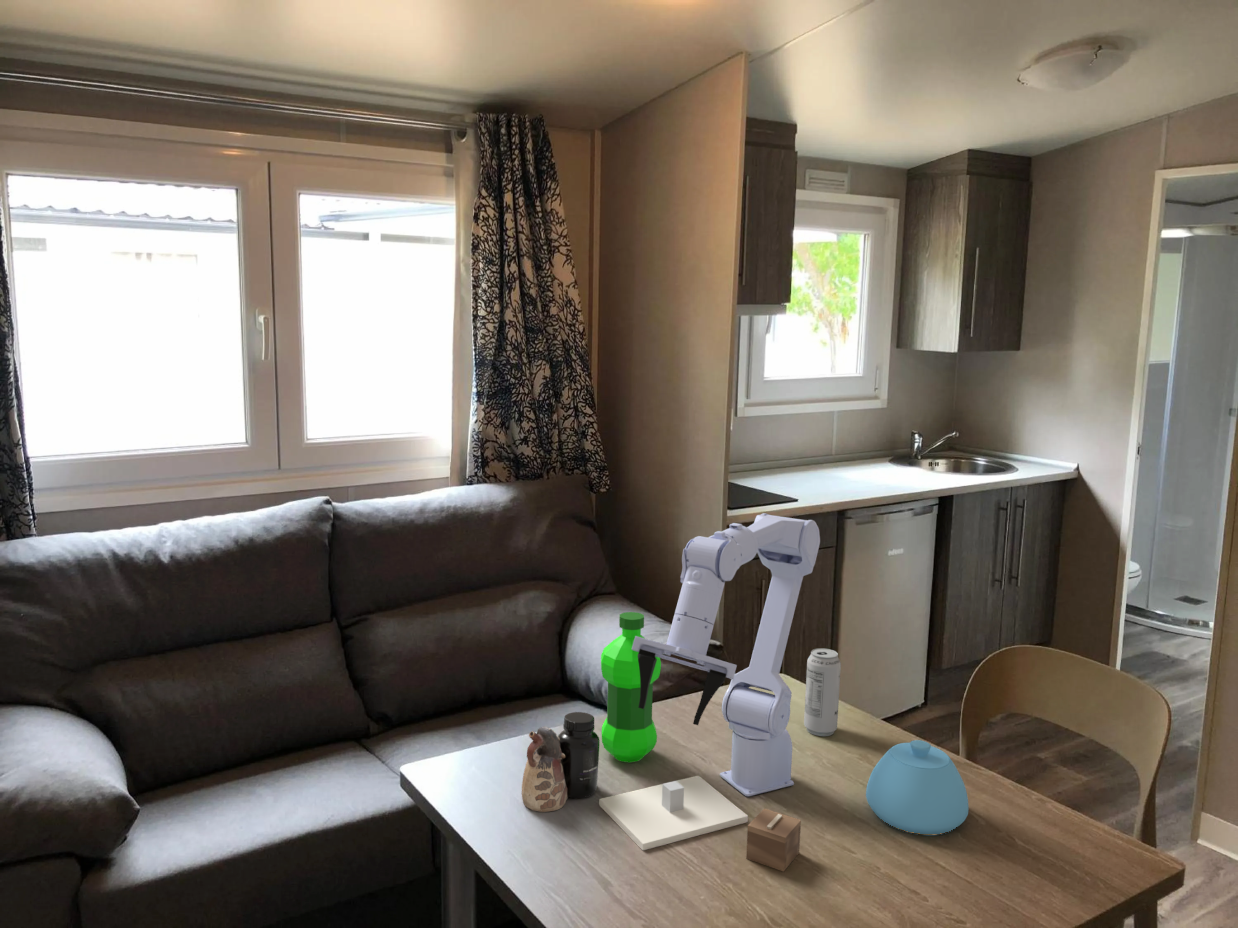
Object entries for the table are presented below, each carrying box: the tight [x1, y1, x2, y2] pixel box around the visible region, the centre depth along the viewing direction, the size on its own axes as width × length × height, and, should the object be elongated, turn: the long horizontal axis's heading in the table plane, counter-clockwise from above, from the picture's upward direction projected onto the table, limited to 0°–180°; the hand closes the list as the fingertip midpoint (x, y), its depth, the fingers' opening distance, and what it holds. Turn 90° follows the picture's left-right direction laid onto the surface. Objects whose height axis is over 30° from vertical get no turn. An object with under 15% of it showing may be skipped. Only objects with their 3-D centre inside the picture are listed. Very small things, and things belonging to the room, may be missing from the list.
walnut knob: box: [745, 808, 802, 872], centre depth 131 cm, size 6×6×5 cm
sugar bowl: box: [865, 739, 970, 834], centre depth 143 cm, size 15×15×12 cm
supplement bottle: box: [557, 711, 600, 799], centre depth 149 cm, size 7×7×12 cm
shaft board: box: [598, 775, 749, 851], centre depth 142 cm, size 18×14×4 cm
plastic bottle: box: [600, 611, 662, 763], centre depth 160 cm, size 10×10×25 cm
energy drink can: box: [803, 648, 842, 737], centre depth 172 cm, size 6×6×15 cm
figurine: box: [521, 726, 568, 813], centre depth 145 cm, size 7×7×12 cm
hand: (668, 716), depth 128 cm, fingers open, 7 cm apart
